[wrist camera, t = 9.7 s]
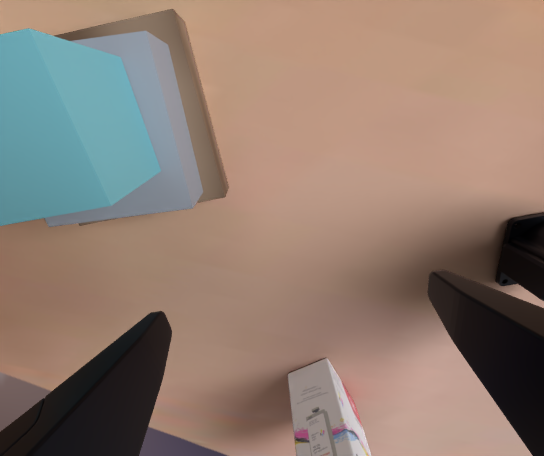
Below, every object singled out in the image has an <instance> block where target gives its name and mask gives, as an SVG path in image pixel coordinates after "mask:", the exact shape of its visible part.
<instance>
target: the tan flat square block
mask: <svg viewBox="0 0 544 456" xmlns="http://www.w3.org/2000/svg"><path fill="white" fill-rule="evenodd" d="M140 31H147V32H149V33H150V34H152V35H154V36H155V37H157V38H158V39H160V40H161V41H163V42H164V43H166V44H168V46H169V51H170V55H171V59H172V63H173V67H174V71H175V76H176V80H177V84H178V88H179V92H180V97H181V101H182V105H183V109H184V113H185V117H186V122H187V126H188V130H189V134H190V138H191V142H192V147H193V151H194V155H195V159H196V163H197V167H198V172H199V176H200V180H201V184H202V188H203V193H202V195H201V196H200V198H199V200H198V201H197V203H198V202H203V201H208V200H213V199H218V198H224V197H225V196H226V193H227V191H228V188H229V186H228V182H227V178H226V175H225V171H224V167H223V163H222V160H221V156H220V152H219V148H218V144H217V141H216V137H215V133H214V129H213V126H212V122H211V118H210V114H209V111H208V107H207V103H206V99H205V96H204V92H203V88H202V84H201V81H200V77H199V73H198V69H197V66H196V62H195V58H194V54H193V51H192V47H191V43H190V39H189V36H188V32H187V28H186V24H185V22H184V21H183V19H182V18H181V17H180V16H179V15H178V14H177V13H176V12H175V11H174V10H173V9H170V10H165V11H161V12H157V13H152V14H148V15H143V16H139V17H135V18H130V19H126V20H121V21H117V22H113V23H108V24H104V25H99V26H95V27H91V28H86V29H82V30H77V31H73V32H69V33H64V34H60V35H55V37H58V38H61V39H65V40H68V41H74V40H82V39H89V38H96V37H103V36H111V35H118V34H125V33H132V32H140ZM114 219H116V218H114ZM106 220H111V219H106ZM106 220H99V221H91V222H83V223H78V224H79V225H80V226H81V225H86V224H91V223H96V222H101V221H106Z"/></svg>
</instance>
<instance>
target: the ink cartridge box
mask: <svg viewBox="0 0 544 456" xmlns="http://www.w3.org/2000/svg"><path fill="white" fill-rule="evenodd" d="M288 384H289V393H290V402H291V411H292V420H293V430H294V439H295V448H296V456H371V453H370V450H369V447H368V443H367V440H366V437H365V434H364V430H363V427H362V424H361V421H360V418H359V415H358V412H357V409H356V406H355V403H354V401H353V399H352V398H351V396H350V395H349V393H348V391H347V390H346V388H345V386H344V385H343V383H342V381H341V380H340V378H339V376H338V375H337V373H336V371H335V370H334V368H333V366H332V365H331V363H330V361H329V360H328V359H327V358H325V359H323V360H320V361H318V362H316V363H313V364H311V365H308V366H306V367H303V368H301V369H298V370H296V371H294V372H291V373H289V374H288Z"/></svg>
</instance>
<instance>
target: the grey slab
mask: <svg viewBox="0 0 544 456" xmlns="http://www.w3.org/2000/svg"><path fill="white" fill-rule="evenodd" d="M71 42H74V43H77V44H81V45H84V46H87V47H90V48H93V49H96V50H100V51H103V52H106V53H109V54H112V55H116V56H119V57H121V59H122V62H123V65H124V68H125V71H126V73H127V76H128V79H129V82H130V85H131V87H132V90H133V93H134V96H135V99H136V101H137V104H138V107H139V110H140V113H141V115H142V118H143V121H144V124H145V127H146V130H147V132H148V135H149V138H150V141H151V144H152V146H153V149H154V152H155V155H156V158H157V160H158V163H159V166H160V169H161V172H159V173H158V174H156V175H155V176H154V177H152V178H151V179H149V180H148V181H146V182H145V183H143V184H142V185H141V186H139V187H138V188H136V189H135V190H133V191H132V192H130V193H129V194H128V195H126V196H125V197H123V198H122V199H120V200H119V201H118V202H116V203H115V204H113V205H112V206H107V207H102V208H96V209H91V210H85V211H80V212H74V213H69V214H63V215H58V216H52V217H46V218H44V219H45V220H46V222H47V224H48V226H49V227H52V226H60V225H68V224H76V223H83V222H91V221H99V220H106V219H114V218H122V217H130V216H137V215H145V214H153V213H160V212H168V211H176V210H184V209H191V208H193V207H194V206H195V204H196V203H197V201H198V200H199V198H200V196H201V195H202V193H203V188H202V184H201V180H200V176H199V172H198V167H197V163H196V159H195V155H194V151H193V147H192V142H191V138H190V134H189V130H188V126H187V122H186V117H185V113H184V109H183V105H182V101H181V97H180V92H179V88H178V84H177V80H176V76H175V71H174V67H173V63H172V59H171V55H170V51H169V46H168V44H166V43H164V42H163V41H161V40H160V39H158V38H157V37H155V36H154V35H152V34H150V33H149V32H147V31H140V32H132V33H125V34H118V35H111V36H103V37H96V38H89V39H82V40H74V41H71Z"/></svg>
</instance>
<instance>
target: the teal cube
mask: <svg viewBox="0 0 544 456" xmlns="http://www.w3.org/2000/svg"><path fill="white" fill-rule="evenodd" d="M159 172H161V169H160V166H159V163H158V160H157V158H156V155H155V152H154V149H153V146H152V144H151V141H150V138H149V135H148V132H147V130H146V127H145V124H144V121H143V118H142V115H141V113H140V110H139V107H138V104H137V101H136V99H135V96H134V93H133V90H132V87H131V85H130V82H129V79H128V76H127V73H126V71H125V68H124V65H123V62H122V59H121V57H119V56H116V55H112V54H109V53H106V52H103V51H100V50H96V49H93V48H90V47H87V46H84V45H81V44H77V43H74V42H71V41H68V40H65V39H61V38H58V37H55V36H52V35H49V34H45V33H42V32H39V31H36V30H33V29H29V28H28V29H24V30H19V31H14V32H9V33H5V34H0V226H2V225H8V224H13V223H19V222H24V221H30V220H35V219H41V218H46V217H52V216H58V215H63V214H69V213H74V212H80V211H85V210H91V209H96V208H102V207H107V206H112V205H113V204H115V203H116V202H118V201H119V200H120V199H122V198H123V197H125V196H126V195H128V194H129V193H130V192H132V191H133V190H135V189H136V188H138V187H139V186H141V185H142V184H143V183H145V182H146V181H148V180H149V179H151V178H152V177H154V176H155V175H156V174H158V173H159Z"/></svg>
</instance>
